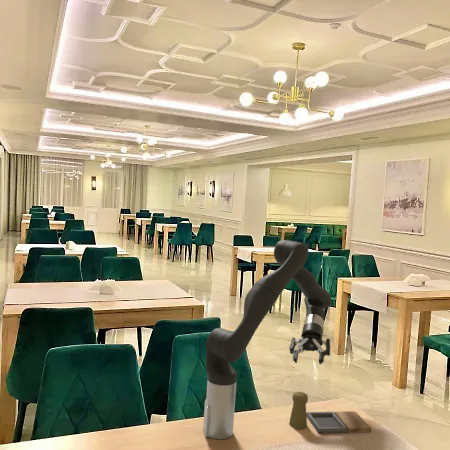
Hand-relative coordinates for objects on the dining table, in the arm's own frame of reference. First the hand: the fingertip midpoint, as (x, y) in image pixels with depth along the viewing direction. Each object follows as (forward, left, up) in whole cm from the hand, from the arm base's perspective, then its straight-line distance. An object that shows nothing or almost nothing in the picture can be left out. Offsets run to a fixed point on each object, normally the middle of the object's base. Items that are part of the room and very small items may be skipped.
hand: (307, 361), depth 166 cm
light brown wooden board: (+16, -5, -20) cm, 26 cm away
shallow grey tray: (+7, -5, -20) cm, 22 cm away
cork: (-3, -5, -20) cm, 21 cm away
